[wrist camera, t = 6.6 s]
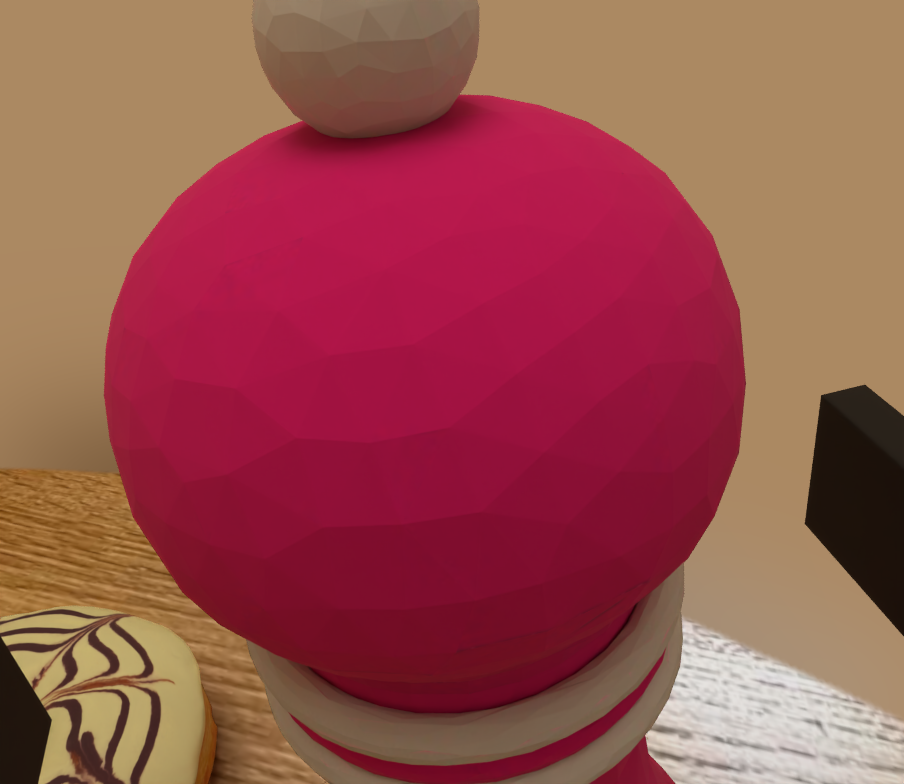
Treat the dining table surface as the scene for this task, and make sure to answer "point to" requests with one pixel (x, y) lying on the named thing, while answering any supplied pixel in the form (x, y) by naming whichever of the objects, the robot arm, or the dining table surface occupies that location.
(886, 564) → the robot arm
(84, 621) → the decorated donut
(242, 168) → the pepper mill
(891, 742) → the dining table surface
